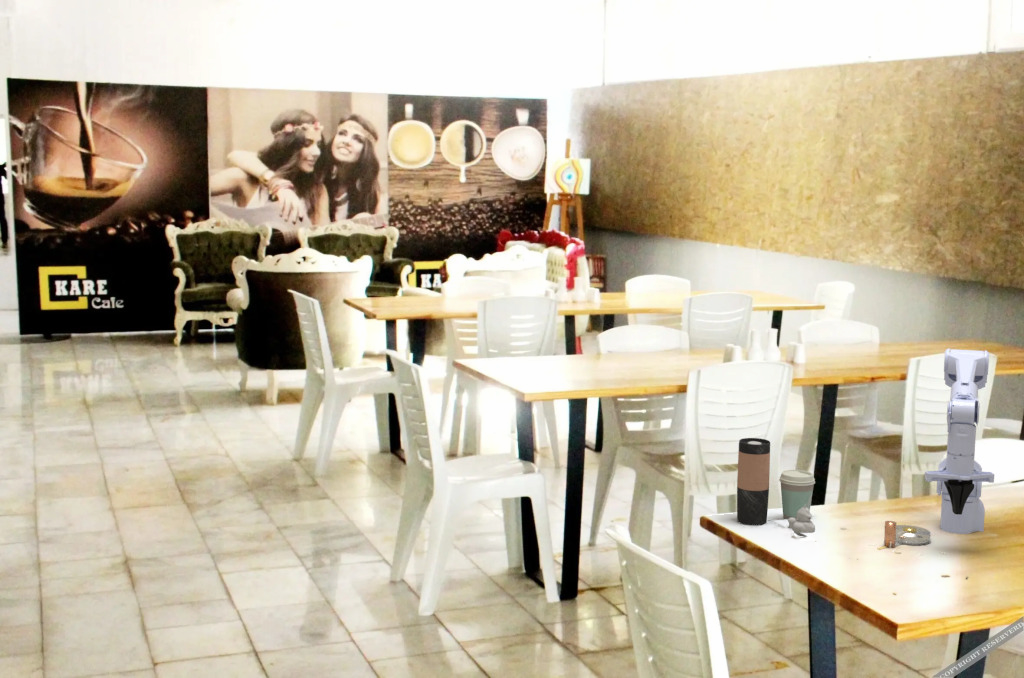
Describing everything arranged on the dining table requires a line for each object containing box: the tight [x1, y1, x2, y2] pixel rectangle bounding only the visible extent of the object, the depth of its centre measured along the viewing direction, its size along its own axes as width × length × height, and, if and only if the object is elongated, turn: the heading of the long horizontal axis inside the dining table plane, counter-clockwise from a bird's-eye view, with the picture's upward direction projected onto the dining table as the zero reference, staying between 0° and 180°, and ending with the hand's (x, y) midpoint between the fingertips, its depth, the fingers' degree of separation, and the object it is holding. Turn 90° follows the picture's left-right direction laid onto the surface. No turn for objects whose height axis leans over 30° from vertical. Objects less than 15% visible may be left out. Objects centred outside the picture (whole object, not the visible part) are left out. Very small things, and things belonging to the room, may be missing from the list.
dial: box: [883, 520, 932, 549], centre depth 267 cm, size 14×9×6 cm, turn 130°
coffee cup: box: [778, 469, 816, 520], centre depth 287 cm, size 8×9×12 cm
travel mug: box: [736, 437, 771, 526], centre depth 287 cm, size 8×8×20 cm
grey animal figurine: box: [787, 504, 816, 538], centre depth 276 cm, size 5×7×8 cm
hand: (957, 513), depth 260 cm, fingers closed
